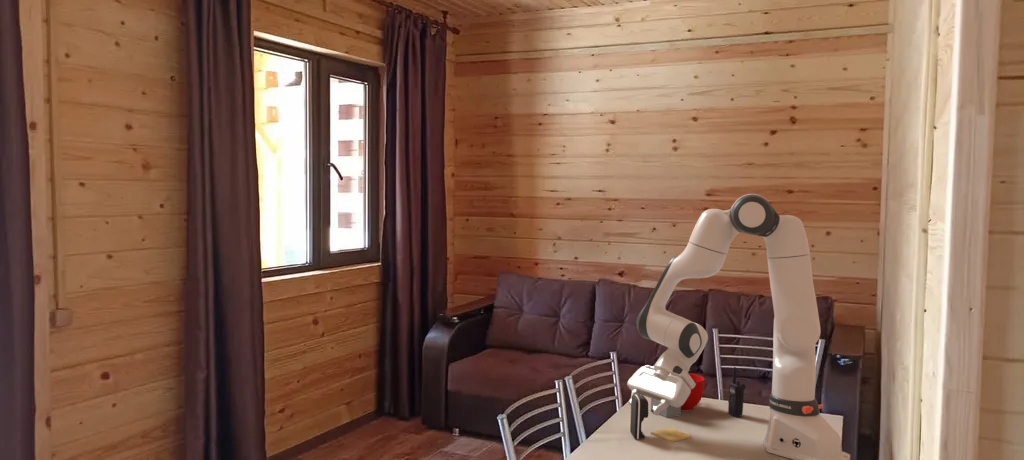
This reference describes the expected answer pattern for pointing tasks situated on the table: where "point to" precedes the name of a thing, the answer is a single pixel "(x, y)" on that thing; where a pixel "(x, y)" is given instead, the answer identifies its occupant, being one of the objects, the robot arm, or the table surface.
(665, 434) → the bay mat
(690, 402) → the ceramic cup
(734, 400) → the two-way radio
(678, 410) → the gray rectangular box
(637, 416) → the battery charger
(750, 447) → the table surface
